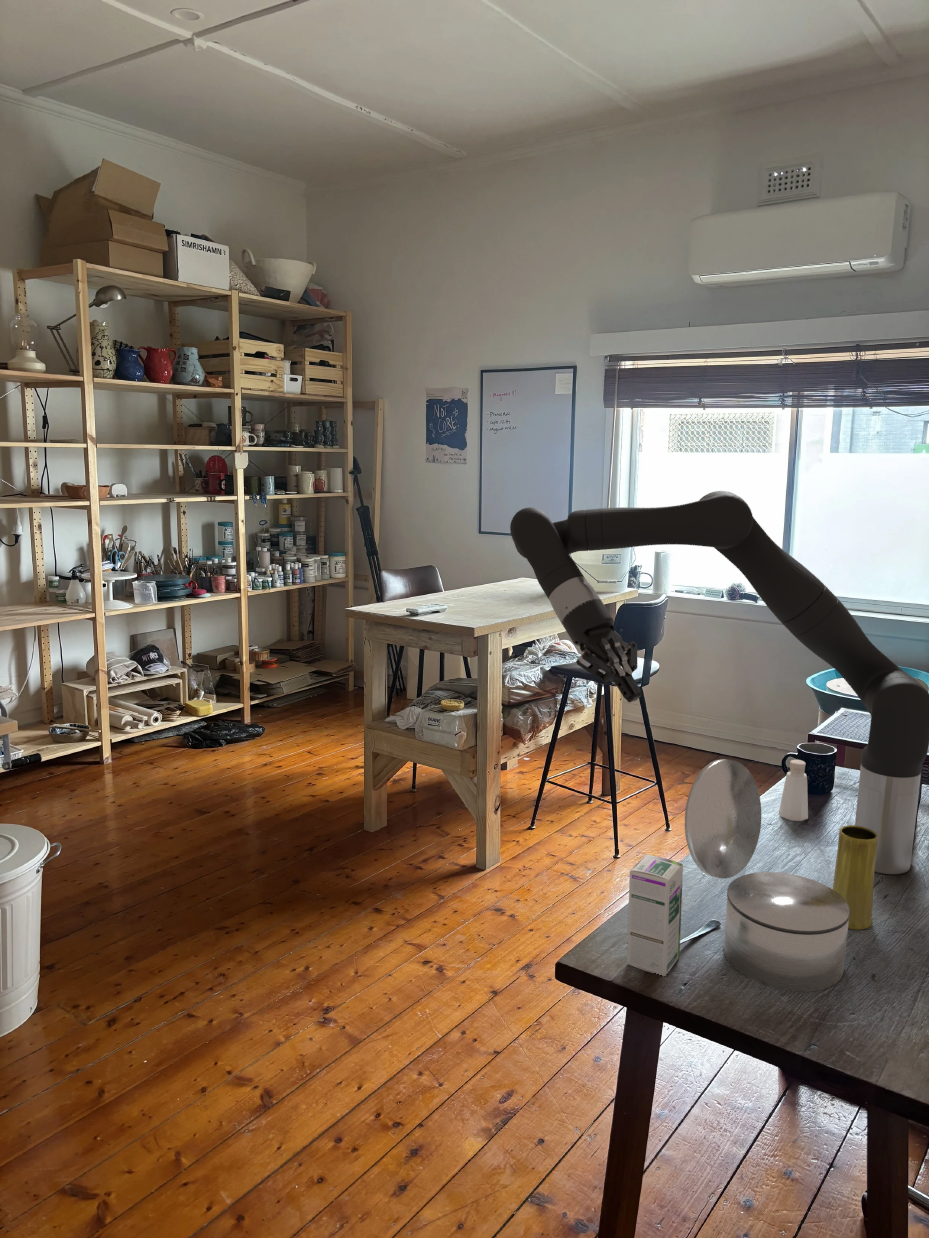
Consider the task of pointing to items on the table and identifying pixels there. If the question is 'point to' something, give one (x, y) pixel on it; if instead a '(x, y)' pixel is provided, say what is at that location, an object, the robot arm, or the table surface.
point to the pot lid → (723, 818)
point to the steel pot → (786, 931)
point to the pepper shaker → (795, 793)
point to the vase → (856, 873)
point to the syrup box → (654, 914)
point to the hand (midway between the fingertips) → (635, 698)
